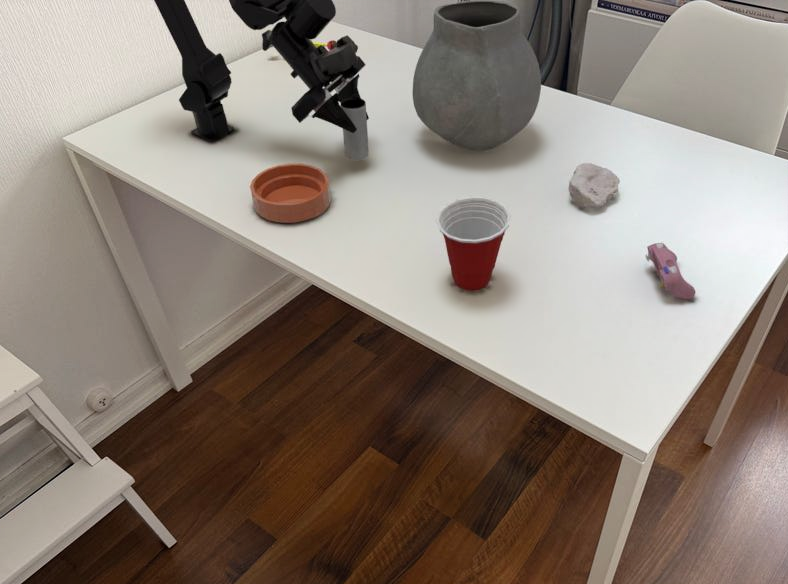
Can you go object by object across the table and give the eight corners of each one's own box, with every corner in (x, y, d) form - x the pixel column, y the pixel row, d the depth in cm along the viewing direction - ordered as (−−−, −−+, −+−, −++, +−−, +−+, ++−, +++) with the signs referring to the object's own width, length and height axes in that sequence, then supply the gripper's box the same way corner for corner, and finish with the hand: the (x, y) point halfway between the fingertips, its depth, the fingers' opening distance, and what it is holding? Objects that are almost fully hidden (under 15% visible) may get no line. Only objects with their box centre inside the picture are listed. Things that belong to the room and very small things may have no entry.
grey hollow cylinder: (371, 158, 127) (368, 106, 120) (348, 162, 126) (343, 109, 119) (365, 147, 130) (362, 95, 123) (342, 150, 129) (338, 98, 122)
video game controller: (649, 270, 110) (638, 240, 105) (676, 259, 108) (667, 227, 104) (668, 310, 103) (658, 280, 98) (698, 299, 102) (689, 267, 97)
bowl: (238, 207, 120) (234, 187, 117) (292, 175, 127) (289, 155, 124) (293, 234, 114) (289, 214, 111) (346, 198, 122) (344, 179, 119)
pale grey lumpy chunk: (627, 175, 122) (616, 180, 113) (613, 209, 125) (601, 216, 116) (582, 159, 124) (568, 162, 116) (570, 193, 127) (555, 199, 119)
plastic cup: (425, 268, 107) (424, 204, 99) (485, 252, 110) (489, 189, 102) (453, 310, 101) (455, 245, 92) (516, 291, 104) (524, 227, 95)
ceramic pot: (496, 103, 148) (506, -22, 130) (556, 153, 133) (576, 20, 115) (395, 125, 141) (390, -3, 123) (446, 181, 126) (449, 43, 108)
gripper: (297, 45, 107) (363, 124, 112) (352, 7, 119) (409, 80, 124) (264, 85, 114) (327, 157, 120) (318, 46, 126) (373, 113, 131)
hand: (361, 125), depth 123 cm, fingers closed on grey hollow cylinder, 4 cm apart
